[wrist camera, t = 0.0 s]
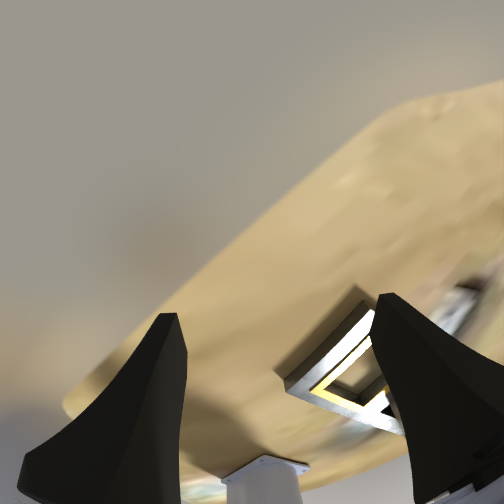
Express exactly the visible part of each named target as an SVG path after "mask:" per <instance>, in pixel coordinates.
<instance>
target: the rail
mask: <svg viewBox="0 0 504 504" xmlns="http://www.w3.org/2000/svg"><path fill="white" fill-rule="evenodd" d="M374 313H375V308H374V307H372V306H371V305H370V304H369V303H367V302H366V301H365V300H363V301H362V302H361V303H360V304H359V305H358V306H357V307H356V308H355V310H354V311H353V312H352V313H351V314H350V315H349V316H348V317H347V318H346V319H345V320H344V321H343V322H342V324H341V325H340V326H339V327H338V328H337V329H336V330H335V331H334V332H333V333H332V334H331V335H330V336H329V337H328V338H327V339H326V340H325V341H324V342H323V343H322V344H321V345H320V346H319V347H318V348H317V349H316V350H315V351H314V352H313V353H312V354H311V355H310V356H309V357H308V358H307V359H306V360H305V361H304V362H303V363H302V364H301V365H300V366H299V367H297V368H296V369H295V370H294V371H293V372H292V373H291V374H290V375H289V376H288V377H287V378H286V379H285V380H283V382H284V387H285V392H286V393H288V394H290V395H293V396H295V397H297V398H300V399H302V400H305V401H307V402H309V403H312V404H314V405H317V406H319V407H322V408H325V409H327V410H330V411H332V412H335V413H338V414H340V415H343V416H346V417H348V418H351V419H354V420H357V421H360V422H363V423H366V424H369V425H372V426H375V427H378V428H381V429H384V430H387V431H390V432H394V433H397V434H400V435H405V434H404V432H403V430H402V428H401V426H400V424H399V422H398V420H397V418H396V416H395V414H394V413H393V411H392V410H391V409H389V408H386V407H387V406H388V405H389V404H390V403H391V402H392V401H394V398H393V395H392V393H391V391H390V389H389V386H388V384H387V382H386V380H385V377H384V375H383V374H382V375H381V376H380V377H379V378H378V379H377V380H375V381H374V382H373V383H372V384H371V385H370V386H369V387H368V388H367V389H365V390H364V391H363V392H362V393H361V394H360V395H356V394H354V393H352V392H350V391H347V390H345V389H343V388H341V387H339V386H337V385H335V384H332V383H331V382H332V381H333V380H334V379H335V378H336V377H338V376H339V375H340V374H341V373H342V372H343V371H344V370H345V369H346V368H347V367H348V366H349V365H350V364H352V363H353V362H354V361H355V360H356V359H357V358H358V357H359V356H360V355H361V354H362V353H363V352H364V351H365V350H366V349H367V348H368V347H369V346H370V345H371V341H370V337H369V331H370V327H371V324H372V320H373V317H374Z"/></svg>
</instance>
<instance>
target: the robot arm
mask: <svg viewBox="0 0 504 504" xmlns="http://www.w3.org/2000/svg"><path fill="white" fill-rule="evenodd" d="M369 337H370V341H371V344H372V347H373V351H374V354H375V357H376V359H377V362H378V364H379V366H380V368H381V371H382V373H383V375H384V377H385V380H386V382H387V384H388V386H389V389H390V391H391V393H392V395H393V398H394V400H395V402H396V405H397V408H398V411H399V414H400V417H401V421H402V425H403V428H404V432H405V437H406V441H407V446H408V451H409V456H410V463H411V470H412V478H413V496H414V502H415V504H427V503H429V502H431V501H433V500H435V499H438V498H440V497H442V496H444V495H446V494H448V493H449V494H450V495H448V496H446V497H444V498H442V499H440V500H438V501H436V502H434V503H432V504H504V366H503V365H501V364H499V363H496V362H494V361H492V360H490V359H488V358H486V357H485V356H483V355H481V354H479V353H477V352H476V351H474V350H472V349H471V348H469V347H467V346H466V345H464V344H463V343H461V342H459V341H458V340H457V339H455V338H454V337H452V336H451V335H449V334H448V333H447V332H445V331H444V330H442V329H441V328H440V327H438V326H437V325H436V324H434V323H433V322H432V321H430V320H429V319H428V318H427V317H425V316H424V315H423V314H421V313H420V312H419V311H418V310H416V309H415V308H414V307H412V306H411V305H410V304H409V303H407V302H406V301H405V300H403V299H402V298H401V297H399V296H398V295H396V294H395V293H386V294H379V298H378V301H377V305H376V309H375V313H374V317H373V320H372V324H371V327H370V331H369ZM187 354H188V352H187V349H186V345H185V342H184V338H183V334H182V331H181V327H180V323H179V320H178V316H177V313H160V314H159V315H158V316H157V318H156V319H155V321H154V322H153V324H152V325H151V327H150V328H149V330H148V331H147V333H146V334H145V336H144V337H143V339H142V341H141V342H140V343H139V345H138V346H137V348H136V349H135V351H134V352H133V354H132V355H131V356H130V358H129V359H128V361H127V362H126V363H125V365H124V366H123V367H122V368H121V370H120V371H119V372H118V374H117V375H116V376H115V378H114V379H113V380H112V381H111V382H110V384H109V385H108V386H107V387H106V388H105V389H104V391H103V392H102V393H101V394H100V395H99V396H98V397H97V398H96V399H95V400H94V401H93V402H92V403H91V404H90V405H89V406H88V407H87V408H86V409H85V410H84V411H83V412H82V413H81V414H80V415H79V416H78V417H77V418H76V419H74V420H73V421H72V422H71V423H70V424H68V425H67V426H66V427H65V428H63V429H62V430H61V431H60V432H58V433H57V434H56V435H54V436H53V437H52V438H50V439H49V440H47V441H46V442H44V443H43V444H41V445H40V446H38V447H36V448H35V449H33V450H32V451H30V452H28V453H27V454H25V457H24V460H23V464H22V468H21V471H20V475H19V479H18V483H17V488H18V490H19V491H20V492H21V493H23V494H24V495H26V496H28V497H30V498H32V499H33V500H35V501H37V502H39V503H41V504H181V497H180V482H179V432H180V424H181V416H182V409H183V402H184V395H185V387H186V380H187ZM310 469H311V467H310V466H309V465H304V464H300V463H295V462H291V461H287V460H283V459H279V458H275V457H272V456H268V455H262V456H260V457H259V458H257V459H256V460H254V461H253V462H251V463H249V464H248V465H246V466H244V467H243V468H241V469H239V470H238V471H236V472H234V473H233V474H231V475H229V476H227V477H226V478H224V479H222V480H221V483H223V484H226V485H227V504H303V502H302V497H301V491H300V486H299V481H298V476H300V475H301V474H303V473H305V472H307V471H308V470H310ZM15 504H25V503H22V502H20V501H18V500H16V501H15Z"/></svg>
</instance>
